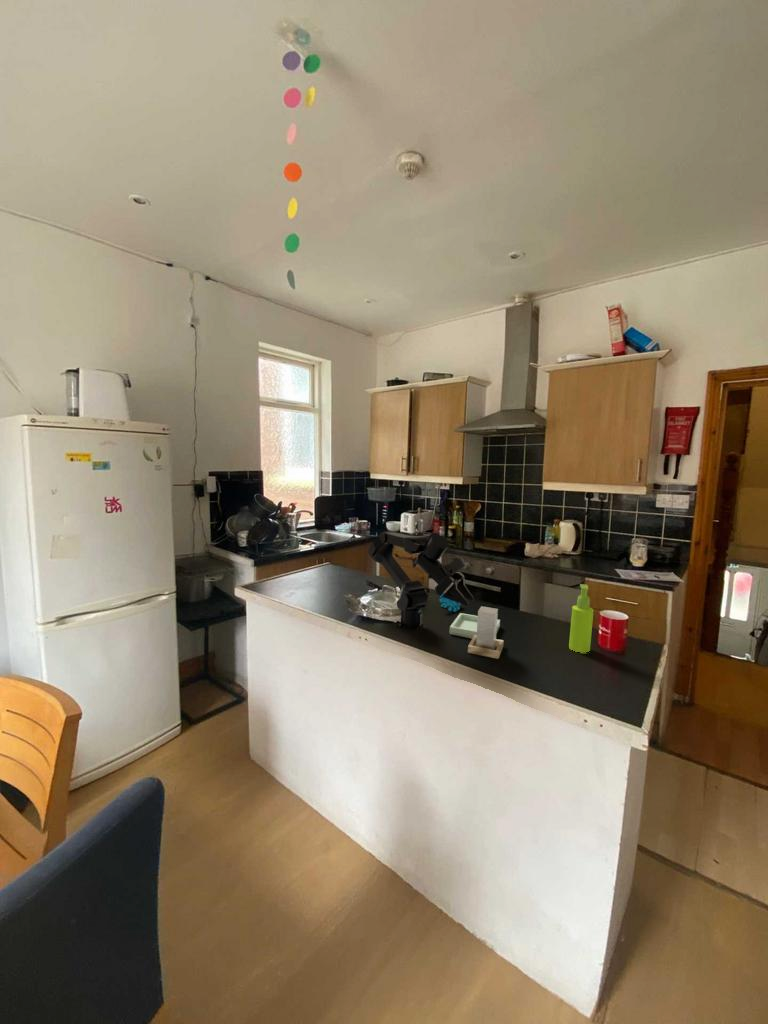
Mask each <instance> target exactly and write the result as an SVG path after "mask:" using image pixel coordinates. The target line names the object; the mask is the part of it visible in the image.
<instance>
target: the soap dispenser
mask: <svg viewBox="0 0 768 1024" xmlns="http://www.w3.org/2000/svg"><path fill="white" fill-rule="evenodd" d="M579 587H580V589H581V590H580V594H579V595H578V596H577V601H576V605H575V604H574V605H573V606H572V607H571V619H570V630H569V631H570V632H569V641H568V642H569V643H568V648H569V650H570V651H572V650H573V652H574V651H575V653H577V652H580V653H579V654H587V653H586V652H589V651H591V641H592V631H593V630H592V629H593V622H594V621H593V619H594V609H593V608H592V607H590V602H591V598H590V596H588V591H589V586H588V584H585V583H584V584H583V583H580V584H579ZM589 653H590V652H589Z"/></svg>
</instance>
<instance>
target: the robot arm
mask: <svg viewBox="0 0 768 1024" xmlns="http://www.w3.org/2000/svg"><path fill="white" fill-rule="evenodd" d="M449 545H450V543H449V541H448V539H447V538H446V537H444V536H443V535H440V534H439V533H438V532H431V534H430V535H429V537H428V536H426V535H419V536H418V535H415V536H414V535H413V536H410V535H406V534H402V533H398V532H395V531H392V530H391V531H383V532H381V533H380V534H379V536H378V537H376V538H375V539H374V540H372V542H371V543H370V545H369V546H368V549H367V550H368V551H367V552H368V555H369V557H370V558H371V560H373V562H375V563H378V564H379V565H382V566H383V568H384V569H385V571H386V572H387V574H388V575H389V576H390V577H391V579H392V580H393V582H394V583H395V585H397V588H398V589H399V590H400V593H399V598H398V600H397V601H396V606H397V607H396V608H397V609H399V610H400V623H399V624H398V627H400V628H405V629H410V630H415V631H416V630H418V629H419V628H420V627H421V626H422V624H423V615H424V614H423V612H422V609H426V606H427V603H428V599H429V595H428V592H427V590H426V587H425V586H424V585H423V584H422V582H421V581H420V580H413V581H412V580H411V577H409V576H408V575H407V573H406V572H405V570H404V569H403V568H402V567H401V565H400V563H399V562H398V561H397V560H396V558H394V555H393V554H394V549H395V546H396V547H400V548H402V549H403V550H404V552H405V553H407V554H409V555H417V556H416V557H414V558H413V559H412V568H413V569H415V568H416V567H419V568H420V569H421V570H422V571H424V573H425V574H426V575H427V578H428V579H429V580H433V581H434V582H435V583H436V586H435V587H434V593H435V594H436V595H437V596H438V597H439V598H441V597H440V596H442V597H443V598H447V599H449V600H452V601H455V602H458V603H460V604H461V605H463V606H466V607H467V606H468V605H469V601H470V602H472V601H474V599H475V598H474V596H473V594H472V593H471V592H470V590H469V589H468V588H467V586H466V584H465V583H466V582H465V580H466V579H465V575H464V574H463V573H462V572H461V571H458V570H461V569H463V568H466V567H467V563H466V561H465V559H464V558H463V556H460V557H459V556H455V557H454V558H452V561H450V562H448V563H446V562H441V561H440V560H439V559H441V557H442V556H443V555H444V553H445V552H446V550H447V549H448V548H449ZM443 592H444V595H442V593H443Z"/></svg>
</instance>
